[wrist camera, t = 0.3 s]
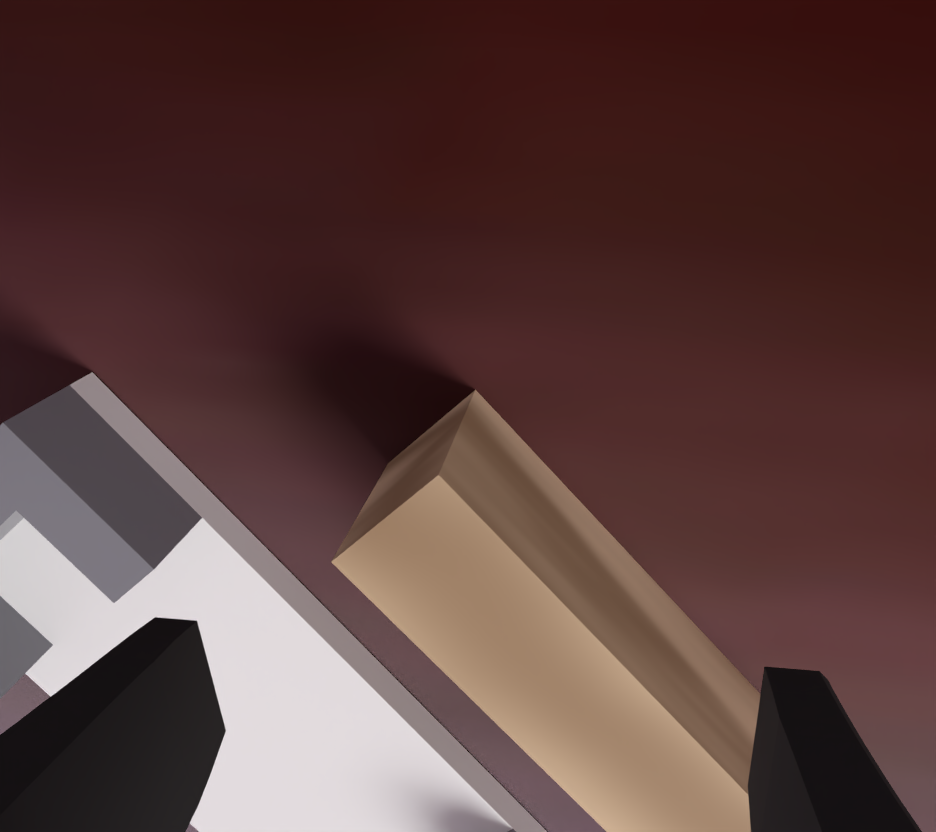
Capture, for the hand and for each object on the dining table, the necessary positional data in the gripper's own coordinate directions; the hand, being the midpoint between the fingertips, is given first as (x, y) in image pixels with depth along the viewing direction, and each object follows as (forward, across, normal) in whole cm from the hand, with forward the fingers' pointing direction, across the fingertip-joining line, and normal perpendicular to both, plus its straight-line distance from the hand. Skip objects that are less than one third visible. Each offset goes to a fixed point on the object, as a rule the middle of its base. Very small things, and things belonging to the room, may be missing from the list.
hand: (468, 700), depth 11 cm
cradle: (+9, +8, +11) cm, 16 cm away
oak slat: (+10, -2, +8) cm, 13 cm away
